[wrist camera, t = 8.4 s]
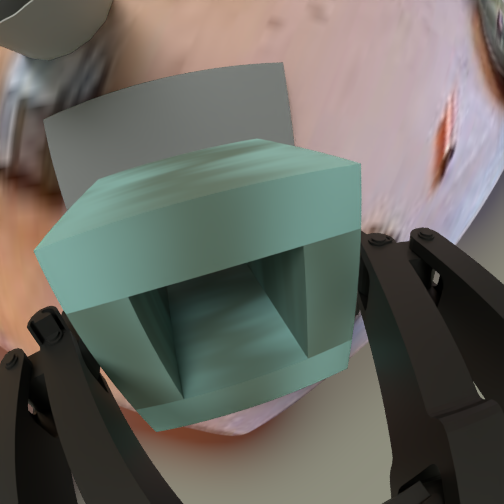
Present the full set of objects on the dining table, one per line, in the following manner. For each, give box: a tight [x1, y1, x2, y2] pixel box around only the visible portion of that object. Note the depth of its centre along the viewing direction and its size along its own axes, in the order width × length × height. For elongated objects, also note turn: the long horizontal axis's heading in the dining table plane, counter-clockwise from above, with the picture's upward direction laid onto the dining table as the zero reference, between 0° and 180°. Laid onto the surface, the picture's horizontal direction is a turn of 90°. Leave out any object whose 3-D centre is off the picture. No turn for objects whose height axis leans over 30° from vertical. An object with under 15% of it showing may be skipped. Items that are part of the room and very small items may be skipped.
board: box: [43, 62, 294, 211], centre depth 21 cm, size 18×18×2 cm
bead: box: [34, 139, 361, 432], centre depth 11 cm, size 8×8×8 cm
